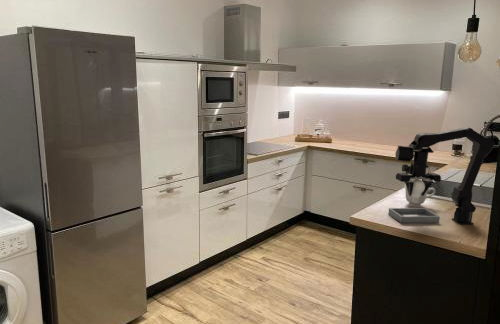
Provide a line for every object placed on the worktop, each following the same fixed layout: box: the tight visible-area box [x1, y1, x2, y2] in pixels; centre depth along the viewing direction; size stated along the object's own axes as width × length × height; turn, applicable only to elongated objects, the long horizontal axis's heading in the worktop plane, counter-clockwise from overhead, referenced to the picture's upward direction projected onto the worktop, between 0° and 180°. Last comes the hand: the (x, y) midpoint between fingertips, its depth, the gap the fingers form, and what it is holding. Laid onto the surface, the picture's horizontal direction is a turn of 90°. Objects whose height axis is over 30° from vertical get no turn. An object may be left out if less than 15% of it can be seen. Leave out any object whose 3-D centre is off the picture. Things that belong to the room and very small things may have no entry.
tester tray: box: [387, 207, 440, 225], centre depth 178 cm, size 18×12×3 cm, turn 97°
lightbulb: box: [412, 179, 425, 203], centre depth 176 cm, size 6×6×11 cm
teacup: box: [403, 183, 436, 208], centre depth 197 cm, size 12×15×10 cm
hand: (416, 195), depth 176 cm, fingers closed on lightbulb, 6 cm apart
